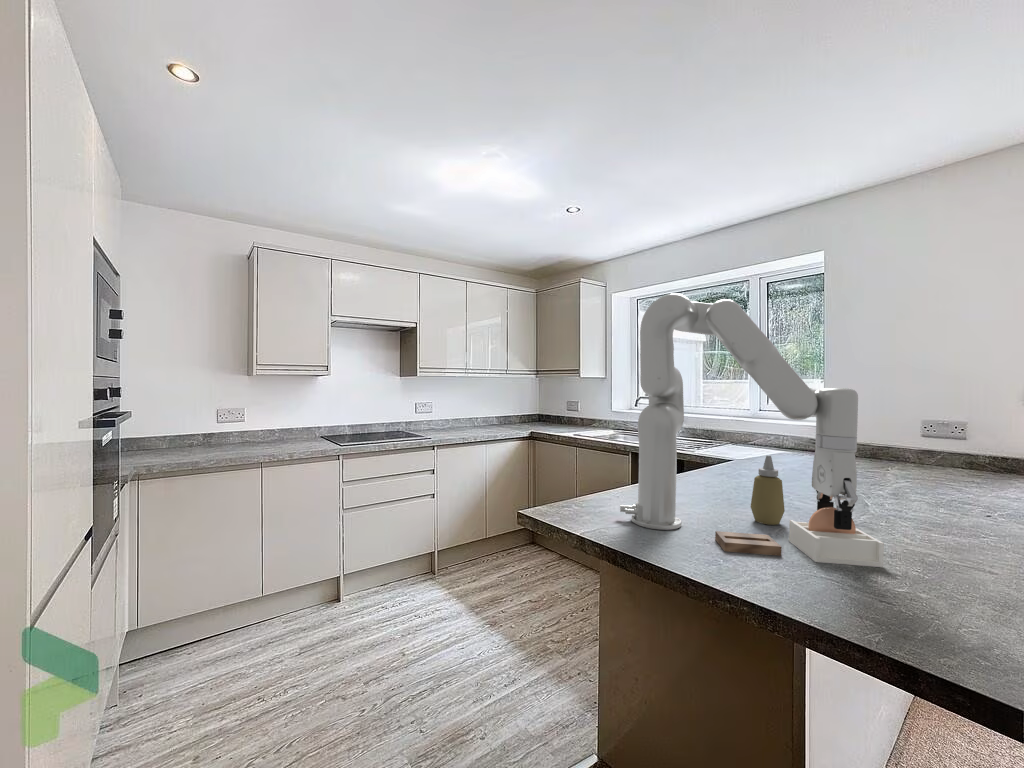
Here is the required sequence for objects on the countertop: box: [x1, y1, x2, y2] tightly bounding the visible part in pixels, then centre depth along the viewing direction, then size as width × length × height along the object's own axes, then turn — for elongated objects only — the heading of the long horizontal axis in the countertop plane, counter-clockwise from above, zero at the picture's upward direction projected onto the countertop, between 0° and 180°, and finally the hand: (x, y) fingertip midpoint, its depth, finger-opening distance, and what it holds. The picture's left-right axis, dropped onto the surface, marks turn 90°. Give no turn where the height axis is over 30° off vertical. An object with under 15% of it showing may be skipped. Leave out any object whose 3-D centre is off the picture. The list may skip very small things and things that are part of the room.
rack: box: [788, 519, 885, 568], centre depth 103 cm, size 13×13×5 cm
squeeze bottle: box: [750, 455, 785, 526], centre depth 125 cm, size 8×8×18 cm
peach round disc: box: [808, 507, 857, 534], centre depth 103 cm, size 1×9×9 cm
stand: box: [714, 530, 783, 557], centre depth 105 cm, size 12×8×2 cm
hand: (833, 523), depth 103 cm, fingers open, 6 cm apart
